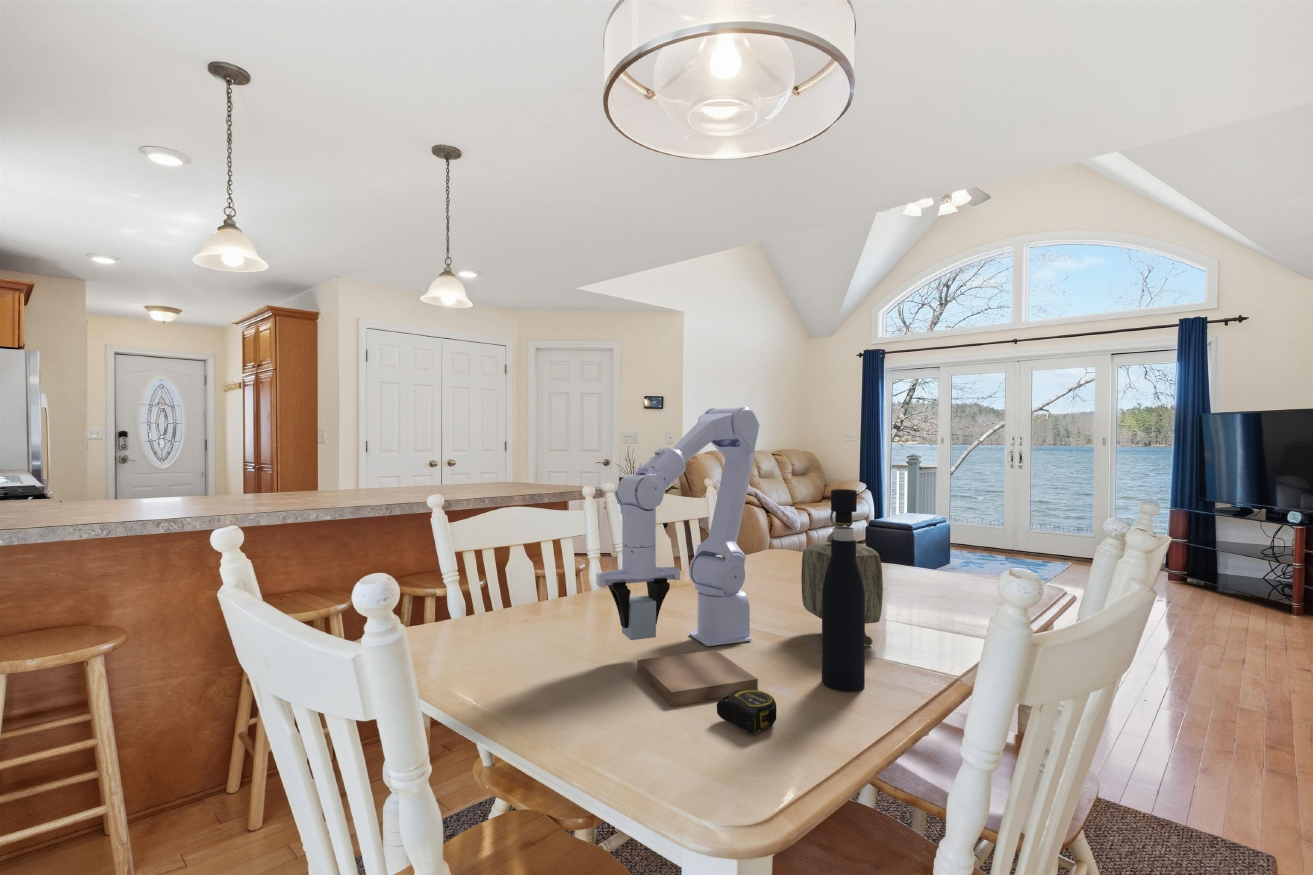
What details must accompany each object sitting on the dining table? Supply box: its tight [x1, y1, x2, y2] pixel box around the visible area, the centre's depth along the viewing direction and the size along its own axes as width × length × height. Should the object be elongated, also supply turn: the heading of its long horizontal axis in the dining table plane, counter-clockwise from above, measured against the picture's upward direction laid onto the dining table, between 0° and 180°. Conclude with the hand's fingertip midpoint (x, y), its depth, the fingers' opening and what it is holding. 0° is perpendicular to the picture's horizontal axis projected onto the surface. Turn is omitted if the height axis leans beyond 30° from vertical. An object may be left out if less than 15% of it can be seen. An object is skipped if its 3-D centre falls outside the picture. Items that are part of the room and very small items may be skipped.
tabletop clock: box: [800, 510, 884, 646], centre depth 121 cm, size 14×9×25 cm, turn 17°
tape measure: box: [716, 689, 777, 735], centre depth 84 cm, size 7×7×4 cm
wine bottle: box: [821, 488, 866, 693], centre depth 98 cm, size 6×6×30 cm
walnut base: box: [636, 649, 759, 707], centre depth 98 cm, size 14×14×2 cm
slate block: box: [621, 594, 657, 641], centre depth 108 cm, size 4×4×6 cm
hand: (638, 624), depth 108 cm, fingers closed on slate block, 4 cm apart
